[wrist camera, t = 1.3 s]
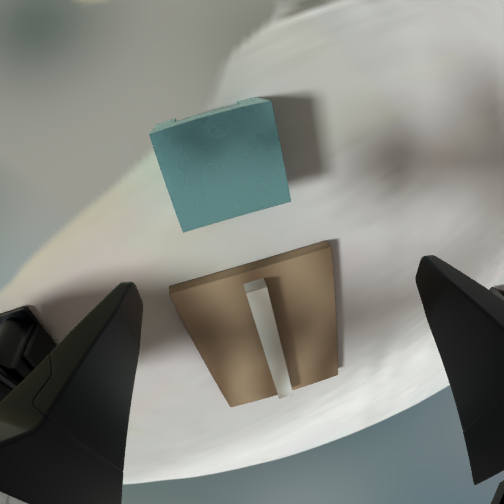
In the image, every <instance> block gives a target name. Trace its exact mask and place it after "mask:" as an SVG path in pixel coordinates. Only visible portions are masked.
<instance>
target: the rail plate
mask: <svg viewBox="0 0 504 504" xmlns="http://www.w3.org/2000/svg"><path fill="white" fill-rule="evenodd" d="M169 295H170V297H171V299H172V301H173V303H174V305H175V307H176V309H177V311H178V313H179V315H180V317H181V319H182V321H183V323H184V325H185V327H186V329H187V331H188V333H189V334H190V336H191V338H192V340H193V342H194V344H195V346H196V348H197V349H198V351H199V353H200V355H201V357H202V359H203V360H204V362H205V364H206V366H207V368H208V369H209V371H210V373H211V375H212V376H213V378H214V380H215V382H216V383H217V385H218V387H219V389H220V390H221V392H222V394H223V395H224V397H225V399H226V400H227V402H228V404H229V405H230V407H234V406H238V405H242V404H246V403H249V402H253V401H257V400H261V399H264V398H268V397H271V396H275V395H278V396H279V399H280V398H284V397H287V396H290V395H293V391H292V390H295V389H298V388H301V387H304V386H307V385H310V384H313V383H316V382H319V381H322V380H325V379H328V378H330V377H333V376H336V375H338V353H337V325H336V305H335V289H334V274H333V262H332V250H331V246H330V244H329V243H328V242H327V241H323V242H320V243H316V244H313V245H310V246H306V247H303V248H299V249H296V250H293V251H289V252H286V253H283V254H279V255H276V256H272V257H269V258H266V259H262V260H259V261H255V262H252V263H249V264H245V265H242V266H238V267H235V268H231V269H228V270H225V271H221V272H218V273H214V274H211V275H207V276H204V277H200V278H197V279H193V280H190V281H186V282H183V283H180V284H176V285H173V286H169Z"/></svg>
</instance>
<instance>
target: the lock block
mask: <svg viewBox="0 0 504 504" xmlns="http://www.w3.org/2000/svg"><path fill="white" fill-rule="evenodd" d="M237 103H238V104H237V105H233V106H229V107H225V108H221V109H217V110H213V111H210V112H206V113H203V114H199V115H196V116H192V117H189V118H186V119H182V120H179V121H176V119H172V120H169V121H166V122H163V123H160V124H157V125H156V126H155V128H154V129H153V130H152V131H151V132H150V134H149V135H150V138H151V141H152V145H153V148H154V151H155V154H156V157H157V160H158V163H159V166H160V169H161V172H162V175H163V178H164V180H165V183H166V186H167V189H168V192H169V195H170V198H171V201H172V203H173V206H174V209H175V212H176V215H177V217H178V220H179V223H180V225H181V228H182V231H183V232H187V231H190V230H193V229H197V228H200V227H203V226H207V225H210V224H213V223H217V222H220V221H224V220H227V219H230V218H234V217H237V216H241V215H244V214H248V213H251V212H255V211H259V210H262V209H266V208H269V207H273V206H277V205H280V204H284V203H287V202H291V198H290V193H289V187H288V182H287V177H286V171H285V166H284V161H283V156H282V151H281V146H280V141H279V136H278V131H277V126H276V121H275V116H274V112H273V107H272V102H271V100H266V99H262V98H258V97H254V98H250V99H246V100H241V101H237Z"/></svg>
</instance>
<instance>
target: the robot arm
mask: <svg viewBox="0 0 504 504" xmlns="http://www.w3.org/2000/svg"><path fill="white" fill-rule="evenodd" d="M416 284H417V287H418V291H419V294H420V297H421V300H422V304H423V307H424V310H425V314H426V317H427V320H428V323H429V326H430V329H431V331H432V334H433V337H434V339H435V342H436V345H437V348H438V350H439V353H440V356H441V359H442V362H443V365H444V368H445V371H446V374H447V377H448V380H449V383H450V386H451V389H452V393H453V396H454V399H455V403H456V406H457V410H458V414H459V418H460V421H461V425H462V429H463V434H464V437H465V442H466V447H467V451H468V456H469V461H470V466H471V470H472V477H473V482H474V485H477V484H478V483H481V482H482V481H485V480H487V479H488V478H490V477H492V476H494V475H496V474H498V473H500V472H501V471H503V470H504V300H503V299H501V298H500V297H498V296H497V295H496V294H494V293H493V292H491V291H490V290H488V289H487V288H485V287H484V286H482V285H481V284H479V283H477V282H476V281H474V280H473V279H471V278H470V277H468V276H467V275H465V274H463V273H462V272H460V271H459V270H457V269H456V268H454V267H452V266H451V265H449V264H447V263H446V262H444V261H443V260H441V259H439V258H438V257H436V256H434V255H429V256H424V257H422V258H421V261H420V264H419V267H418V271H417V274H416ZM25 312H26V313H25ZM142 312H143V303H142V300H141V297H140V295H139V293H138V290H137V288H136V285H135V284H134V283H133V282H122V283H120V284H119V285H118V286H117V287H116V288H115V289H114V290H113V291H112V292H111V293H109V294H108V295H107V296H106V297H105V298H104V299H103V300H102V301H101V302H100V303H99V304H98V305H97V306H96V307H95V308H94V309H93V310H92V311H91V312H90V313H89V314H88V315H87V316H86V317H85V318H84V319H83V320H82V321H81V322H80V323H79V324H78V325H77V326H76V327H75V328H74V329H73V330H72V331H71V332H70V333H69V334H68V335H67V336H66V337H65V338H64V339H63V340H62V341H61V342H60V343H59V344H58V345H57V346H56V344H55V343H54V342H53V341H52V339H51V338H50V337H49V335H48V334H47V333H46V332H45V330H44V329H43V328H42V326H41V325H40V324H39V322H38V321H37V320H36V318H35V317H34V315H33V314H32V313H31V311H30V310H29V309H28V308H27V307H22V308H19V309H16V310H13V311H9V312H6V313H3V314H0V504H121V499H122V483H123V472H122V471H123V469H124V458H125V448H126V438H127V430H128V422H129V414H130V407H131V400H132V393H133V386H134V380H135V374H136V368H137V362H138V356H139V349H140V337H141V323H142ZM491 504H504V480H503V481H502V482H500V483H499V486H498V488H497V491H496V493H495V495H494V498H493V500H492V502H491Z"/></svg>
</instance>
